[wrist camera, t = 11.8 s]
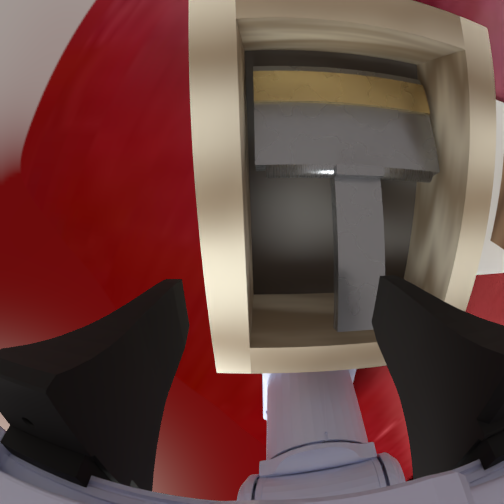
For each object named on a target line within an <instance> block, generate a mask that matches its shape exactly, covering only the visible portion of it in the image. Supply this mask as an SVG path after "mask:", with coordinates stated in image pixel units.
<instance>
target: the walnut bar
mask: <svg viewBox="0 0 504 504" xmlns="http://www.w3.org/2000/svg"><path fill="white" fill-rule="evenodd" d="M490 241H492V242H493V243H495V244H496V245H498V246H499V247H501V248H502V249H504V160H503V170H502V178H501V186H500V193H499V199H498V205H497V211H496V216H495V221H494V226H493V231H492V235H491V240H490Z"/></svg>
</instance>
